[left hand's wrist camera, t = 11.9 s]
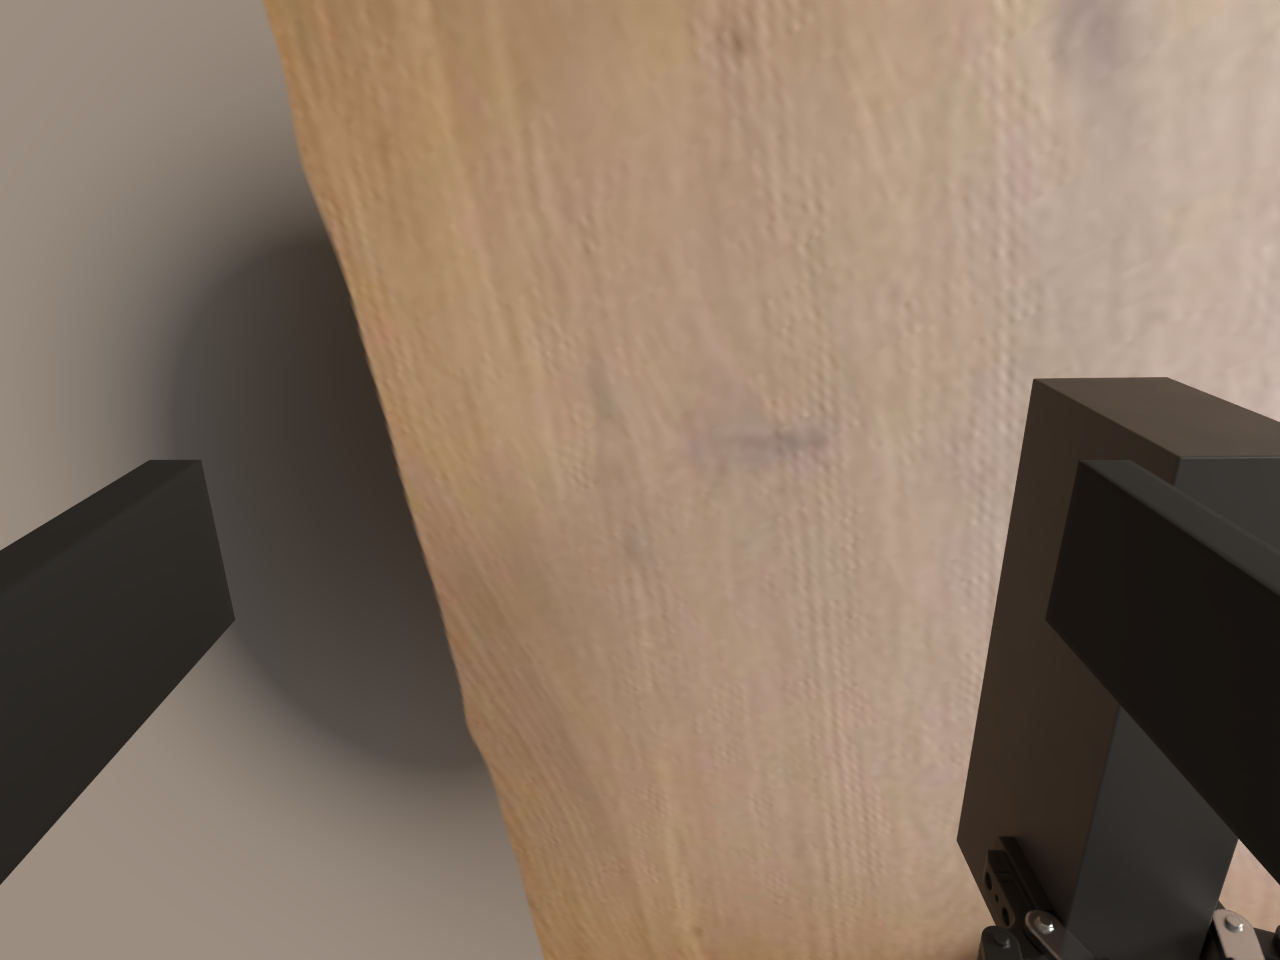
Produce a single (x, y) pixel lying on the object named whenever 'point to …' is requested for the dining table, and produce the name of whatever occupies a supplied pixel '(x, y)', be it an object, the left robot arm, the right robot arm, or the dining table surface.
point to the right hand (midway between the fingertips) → (1071, 852)
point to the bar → (1076, 700)
